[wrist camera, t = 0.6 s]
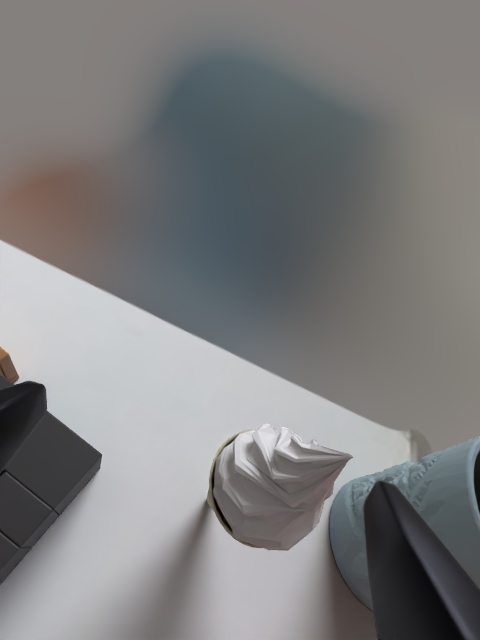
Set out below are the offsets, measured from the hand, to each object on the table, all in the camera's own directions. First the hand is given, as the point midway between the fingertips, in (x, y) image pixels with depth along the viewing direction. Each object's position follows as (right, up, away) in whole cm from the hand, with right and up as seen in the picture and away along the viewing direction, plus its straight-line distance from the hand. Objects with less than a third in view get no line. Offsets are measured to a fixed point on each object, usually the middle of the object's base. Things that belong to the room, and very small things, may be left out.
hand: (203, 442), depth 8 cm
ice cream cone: (-1, -9, +13) cm, 16 cm away
